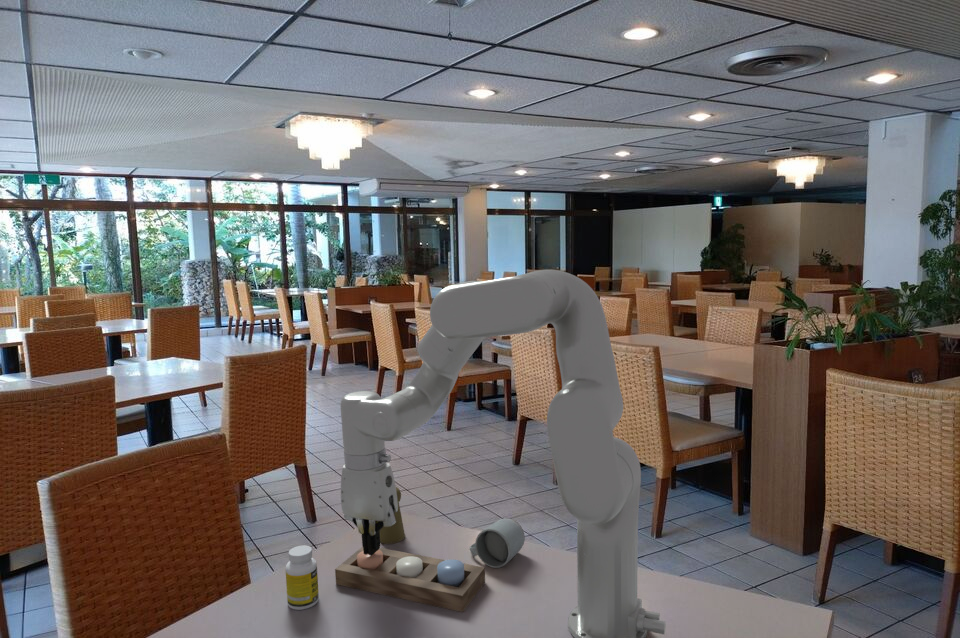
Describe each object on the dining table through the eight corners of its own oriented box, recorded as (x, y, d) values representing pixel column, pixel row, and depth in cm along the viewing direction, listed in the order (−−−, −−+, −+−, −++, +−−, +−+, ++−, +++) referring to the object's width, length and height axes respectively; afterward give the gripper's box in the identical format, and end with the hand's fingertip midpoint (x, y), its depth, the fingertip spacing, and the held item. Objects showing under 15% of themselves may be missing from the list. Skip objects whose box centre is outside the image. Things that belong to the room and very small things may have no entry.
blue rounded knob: (468, 577, 121) (468, 562, 120) (457, 591, 116) (457, 575, 116) (445, 572, 122) (444, 557, 122) (433, 586, 118) (432, 570, 118)
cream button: (427, 573, 124) (426, 558, 124) (415, 586, 120) (414, 571, 119) (405, 569, 126) (404, 554, 125) (392, 582, 122) (391, 566, 121)
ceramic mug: (527, 553, 133) (526, 516, 132) (510, 572, 126) (508, 533, 125) (481, 543, 138) (479, 508, 137) (461, 561, 131) (459, 524, 130)
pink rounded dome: (388, 565, 127) (387, 551, 127) (374, 578, 123) (374, 563, 123) (366, 561, 129) (366, 547, 129) (353, 573, 125) (352, 558, 124)
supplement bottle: (318, 608, 116) (314, 556, 114) (286, 612, 115) (281, 559, 113) (320, 592, 121) (316, 541, 120) (289, 595, 120) (285, 544, 119)
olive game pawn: (399, 544, 138) (397, 494, 137) (372, 542, 139) (369, 493, 138) (408, 531, 144) (406, 483, 142) (382, 529, 145) (379, 481, 144)
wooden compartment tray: (485, 582, 122) (484, 567, 122) (462, 612, 113) (462, 595, 113) (365, 558, 133) (364, 544, 132) (336, 584, 123) (335, 569, 123)
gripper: (410, 455, 123) (416, 548, 126) (343, 448, 129) (349, 537, 132) (389, 469, 117) (396, 567, 119) (319, 461, 122) (327, 555, 125)
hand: (371, 551), depth 125 cm, fingers closed
